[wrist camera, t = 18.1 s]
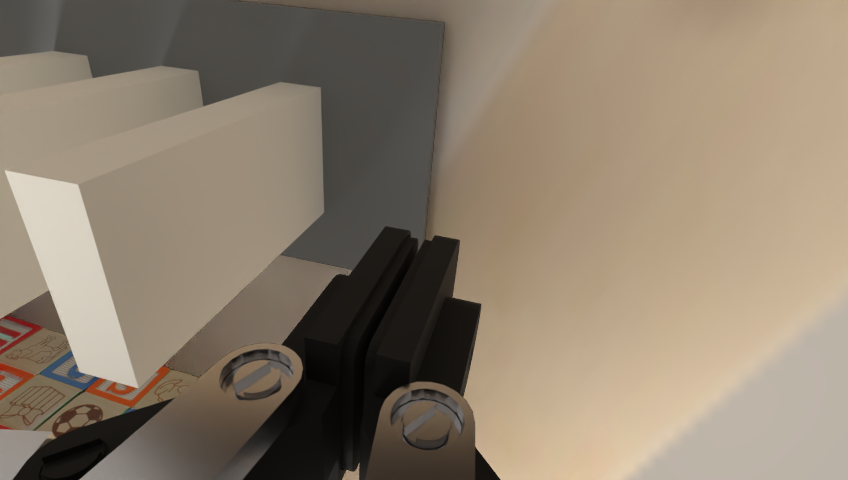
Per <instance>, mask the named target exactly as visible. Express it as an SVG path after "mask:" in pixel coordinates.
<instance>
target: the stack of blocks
mask: <svg viewBox="0 0 848 480" xmlns="http://www.w3.org/2000/svg"><path fill="white" fill-rule="evenodd" d="M197 379H198V377H195V376H192V375H189V374H186V373H183V372H179V371H176V370H171V369H169V368H167V367H164V366H162V367H161V368H160V369H159V370H158V371H156V372H155V373H154V374H153V375H152V376H151V377H150V378H149V379H148V380H147V381H146V382H145V383H144V384H143V385H142V386H141V387H140V388H135V387H132V386H128V385H125V384H121V383H117V382H114V381H110V380H106V379H103V378H99V377H96V376H92V375H88V374H85V373H81V372H79V369H78V366H77V363H76V361H75V358H74V355H73V353H72V350H71V347H70V345H69V342H68V339H67V337H66V335H63V334H60V333H57V332H54V331H50V330H47V329H44V328H42V327H40V326H37V325H34V324H31V323H28V322H25V321H22V320H19V319H16V318H13V317H10V316H7V315H6V316H4V317H3V318H1V319H0V429H9V430H28V431H46V432H52V433H53V435H54V438H57V437H58V436H60V435H63V434H65V433H67V432H70V431H72V430H75V429H77V428H80V427H83V426H86V425H90V424H93V423H96V422H99V421H102V420H105V419H109V418H112V417H115V416H118V415H121V414H124V413H128V412H131V411H134V410H137V409H140V408H143V407H147V406H150V405H153V404H156V403H159V402H162V401H165V400H169V399H172V398H175V397H177V396H178V395H179V394H181V393H182V392H183V391H184V390H185V389H186V388H188V387H189V386H190V385H191V384H192V383H193V382H195V381H196V380H197Z"/></svg>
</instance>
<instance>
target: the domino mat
mask: <svg viewBox="0 0 848 480" xmlns="http://www.w3.org/2000/svg"><path fill="white" fill-rule="evenodd" d="M444 26H445V22H435V21H426V20H416V19H407V18H397V17H388V16H378V15H369V14H359V13H350V12H340V11H331V10H321V9H312V8H302V7H293V6H283V5H274V4H264V3H255V2H245V1H236V0H0V57H6V56H15V55H23V54H32V53H41V52H50V51H57V52H64V53H72V54H79V55H86V56H87V57H88V61H89V65H90V69H91V73H92V77H93V78H97V77H103V76H108V75H114V74H119V73H125V72H130V71H136V70H141V69H146V68H152V67H157V66H167V67H174V68H182V69H189V70H196V71H198V73H199V80H200V86H201V93H202V100H203V107H204V106H207V105H210V104H213V103H216V102H219V101H222V100H225V99H229V98H232V97H235V96H238V95H241V94H244V93H247V92H250V91H254V90H257V89H260V88H263V87H266V86H269V85H272V84H275V83H279V82H284V83H292V84H299V85H306V86H314V87H321V113H322V151H323V189H324V213H323V214H322V215H321V216H320V217H319V218H318V219H317V220H316V221H315V222H314V223H313V224H311V225H310V226H309V227H308V228H307V229H306V230H305V231H304V232H303V233H302V234H301V235H300V236H299V237H298V238H297V239H296V240H295V241H294V242H293V243H291V244H290V245H289V246H288V247H287V248H286V249H285V250H284V251H283V252H282V253H281V254H280V255H284V256H289V257H294V258H299V259H303V260H308V261H313V262H318V263H323V264H328V265H332V266H337V267H342V268H347V269H352V270H354V268H355V267H356V266H357V264H358V263H359V261H360V260H361V259H362V257H363V256H364V255H365V253H366V252H367V250H368V249H369V248H370V246H371V245H372V244H373V242H374V241H375V239H376V238H377V237H378V235H379V234H380V233H381V231H382V230H383V229H384V227H385V226H388V227H394V228H399V229H404V230H410V232H411V237H412V238H418V251H419V249H420V247H421V245H422V243H423V241H424V240H425V233H426V222H427V212H428V201H429V190H430V179H431V168H432V157H433V146H434V135H435V124H436V113H437V102H438V92H439V81H440V70H441V59H442V48H443V37H444Z"/></svg>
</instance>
